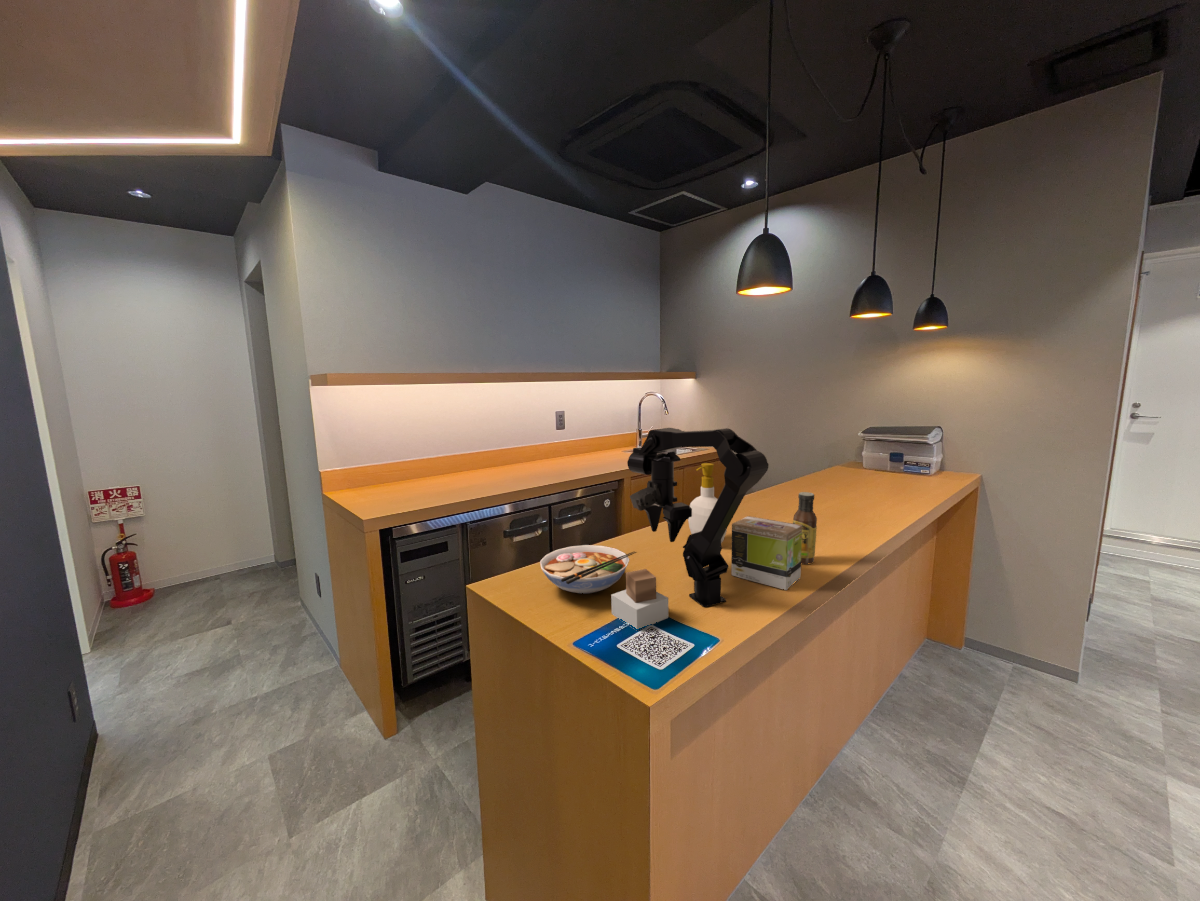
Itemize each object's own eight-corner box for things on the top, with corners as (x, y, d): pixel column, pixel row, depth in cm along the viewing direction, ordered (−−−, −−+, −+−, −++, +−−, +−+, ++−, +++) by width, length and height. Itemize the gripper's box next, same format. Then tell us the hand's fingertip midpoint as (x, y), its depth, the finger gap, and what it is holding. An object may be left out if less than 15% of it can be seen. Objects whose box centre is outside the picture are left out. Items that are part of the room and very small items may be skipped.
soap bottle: (679, 541, 153) (679, 462, 149) (698, 535, 158) (698, 459, 154) (714, 553, 141) (715, 468, 137) (733, 546, 146) (734, 464, 143)
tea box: (801, 579, 122) (803, 524, 120) (786, 592, 115) (788, 534, 113) (747, 564, 132) (748, 514, 130) (729, 576, 125) (730, 522, 123)
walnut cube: (656, 598, 103) (656, 577, 102) (635, 603, 101) (635, 581, 100) (646, 589, 108) (645, 568, 107) (626, 593, 106) (625, 572, 105)
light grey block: (668, 618, 104) (668, 597, 103) (637, 632, 99) (636, 609, 98) (642, 603, 111) (641, 584, 111) (611, 615, 106) (611, 594, 106)
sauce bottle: (785, 559, 135) (788, 492, 132) (800, 555, 138) (803, 489, 135) (805, 567, 129) (807, 497, 126) (820, 562, 132) (823, 493, 129)
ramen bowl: (590, 562, 137) (589, 535, 136) (651, 584, 121) (651, 554, 120) (519, 590, 120) (517, 559, 118) (579, 621, 103) (578, 586, 102)
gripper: (618, 474, 125) (619, 530, 127) (652, 488, 108) (652, 553, 110) (655, 470, 129) (655, 525, 131) (693, 483, 112) (693, 545, 114)
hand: (662, 536), depth 122 cm, fingers open, 9 cm apart
